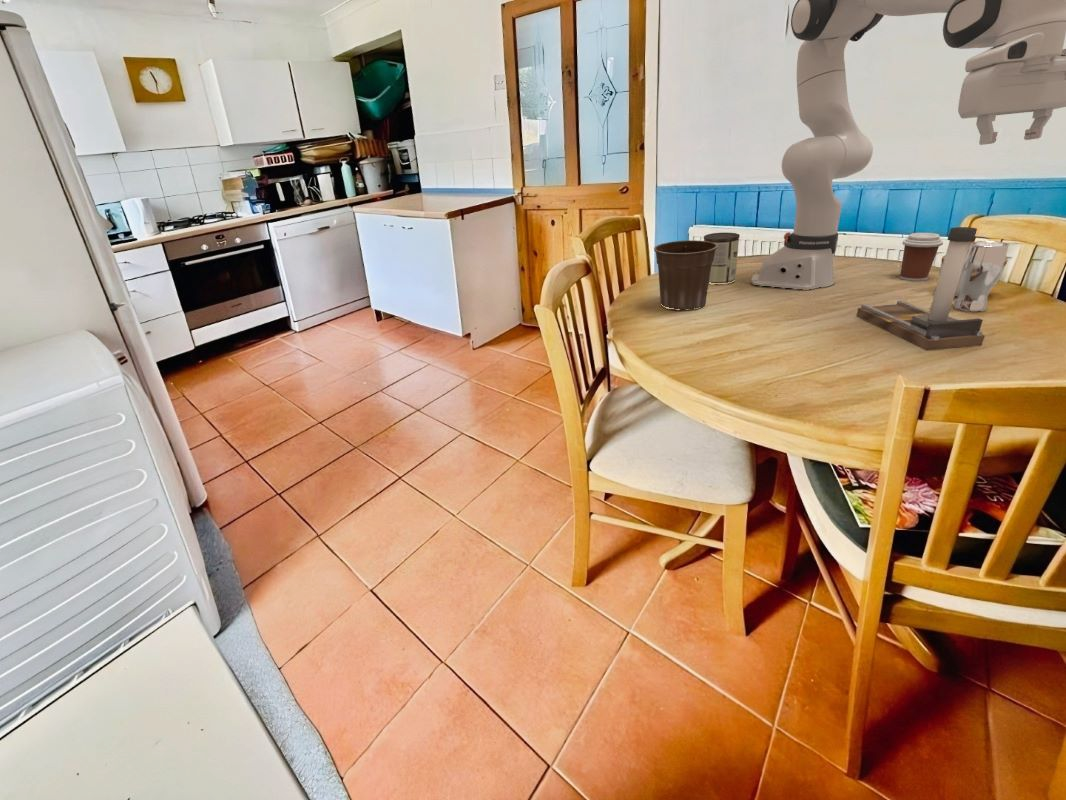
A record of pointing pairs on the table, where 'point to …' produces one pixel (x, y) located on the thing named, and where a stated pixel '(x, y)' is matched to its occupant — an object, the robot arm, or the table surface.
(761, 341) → the table surface
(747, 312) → the table surface
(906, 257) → the coffee cup
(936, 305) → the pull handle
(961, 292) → the beer glass
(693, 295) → the plant pot
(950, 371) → the table surface
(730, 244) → the coffee can
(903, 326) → the press bed
